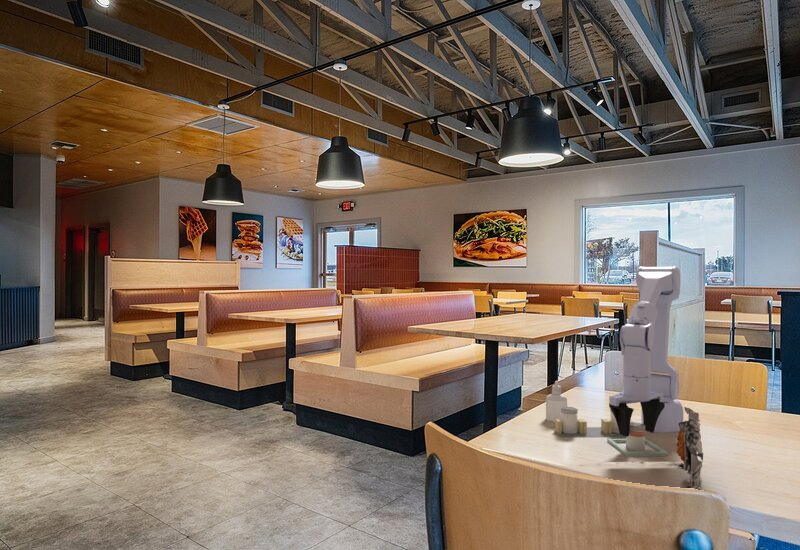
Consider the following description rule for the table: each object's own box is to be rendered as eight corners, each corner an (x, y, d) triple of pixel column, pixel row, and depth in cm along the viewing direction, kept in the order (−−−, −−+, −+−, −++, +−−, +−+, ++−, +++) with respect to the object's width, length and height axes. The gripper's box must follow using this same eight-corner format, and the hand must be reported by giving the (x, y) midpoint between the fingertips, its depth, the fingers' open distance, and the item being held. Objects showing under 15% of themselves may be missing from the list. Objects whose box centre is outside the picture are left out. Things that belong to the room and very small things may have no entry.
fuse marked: (649, 452, 115) (649, 426, 115) (635, 454, 114) (635, 428, 114) (635, 446, 119) (635, 421, 119) (621, 448, 117) (622, 423, 117)
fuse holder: (624, 431, 132) (624, 415, 132) (640, 441, 124) (640, 424, 124) (550, 431, 132) (550, 416, 132) (561, 442, 124) (561, 425, 124)
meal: (674, 465, 109) (674, 405, 109) (697, 469, 107) (697, 408, 107) (677, 492, 95) (678, 423, 95) (703, 496, 93) (704, 427, 93)
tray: (646, 446, 121) (646, 438, 121) (668, 460, 111) (668, 452, 111) (607, 446, 121) (607, 438, 121) (626, 461, 111) (626, 453, 111)
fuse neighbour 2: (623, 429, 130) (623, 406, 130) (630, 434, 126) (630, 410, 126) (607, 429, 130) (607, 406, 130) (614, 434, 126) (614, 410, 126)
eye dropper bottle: (562, 428, 135) (562, 384, 135) (543, 423, 139) (543, 381, 139) (569, 424, 138) (569, 381, 138) (550, 420, 142) (550, 378, 142)
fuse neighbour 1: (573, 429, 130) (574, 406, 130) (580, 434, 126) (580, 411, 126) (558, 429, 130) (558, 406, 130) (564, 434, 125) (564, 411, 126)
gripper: (646, 370, 122) (646, 425, 122) (599, 374, 117) (599, 431, 117) (671, 375, 116) (671, 433, 116) (622, 380, 111) (622, 441, 111)
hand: (636, 433), depth 116 cm, fingers open, 7 cm apart
